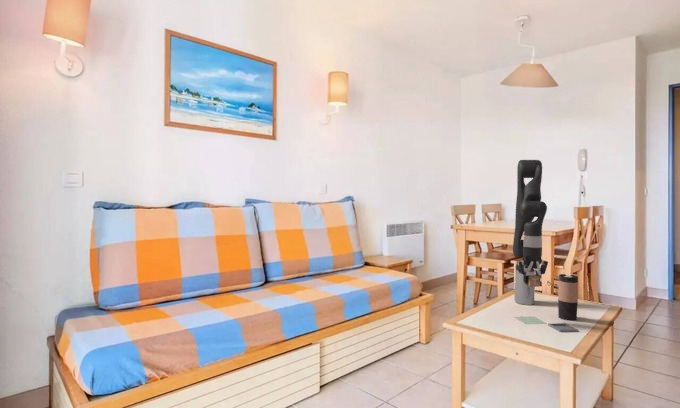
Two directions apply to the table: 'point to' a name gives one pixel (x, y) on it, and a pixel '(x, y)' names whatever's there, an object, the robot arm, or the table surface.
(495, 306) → the table surface
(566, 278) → the travel mug
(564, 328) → the tray
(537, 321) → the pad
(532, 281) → the letter cube
